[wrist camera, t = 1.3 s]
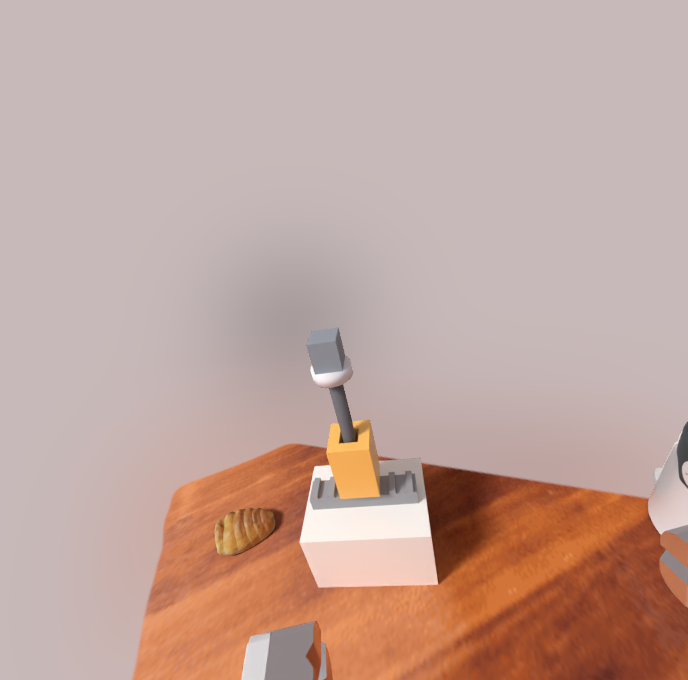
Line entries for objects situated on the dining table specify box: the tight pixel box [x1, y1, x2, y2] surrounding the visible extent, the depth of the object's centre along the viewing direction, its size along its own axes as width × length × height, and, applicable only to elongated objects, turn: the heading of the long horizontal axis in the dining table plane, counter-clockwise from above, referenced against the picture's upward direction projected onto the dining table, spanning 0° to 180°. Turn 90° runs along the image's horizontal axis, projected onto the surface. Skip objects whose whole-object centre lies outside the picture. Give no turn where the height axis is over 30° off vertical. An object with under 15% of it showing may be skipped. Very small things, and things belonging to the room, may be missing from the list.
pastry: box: [215, 508, 275, 556], centre depth 58 cm, size 9×7×4 cm
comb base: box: [300, 458, 438, 588], centre depth 50 cm, size 16×12×13 cm
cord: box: [306, 328, 357, 443], centre depth 43 cm, size 4×4×25 cm
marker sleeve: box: [326, 420, 380, 499], centre depth 45 cm, size 5×5×8 cm
